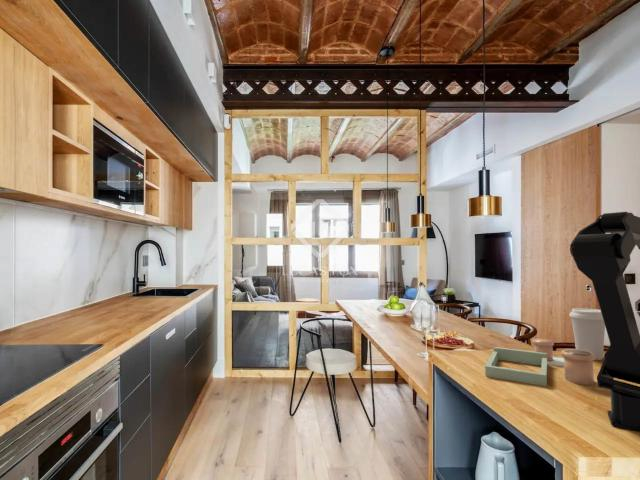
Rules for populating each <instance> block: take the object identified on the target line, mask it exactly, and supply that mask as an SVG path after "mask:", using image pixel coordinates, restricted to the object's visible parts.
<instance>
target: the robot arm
mask: <svg viewBox="0 0 640 480" xmlns="http://www.w3.org/2000/svg"><path fill="white" fill-rule="evenodd" d="M636 246H637V248H638V250H640V216H638V215H637V216H636V215H634V213H633V212H629V211H616V212H606V213H603V214H599V216H598V217H597V218H596V219H595V221H594V222H592V223H590V224H589V225H586V226H585V227H584V228H582V229H581V230H579V231H578V233H577V234H576V235H575V237H574V238H573V240H572V241H571V243H570V244H569V252H570V255H571V257H572V259H573V261H574V263H575V265H576V267H577V269H578V271H579V272H581V273H582V274H583V275H584V276H585V277H587V278H588V279H589V280H590V281H591V282H592V286H593V290H594V293H595V295H596V296H595V297H596V299H597V303H598V307H599V310H601V314H602V317H603V320H604V324H605V330H606V334H607V337H608V340H609V346H608V348H607V349H606V351H605V353H603V359H604V360H603V361H602V364H601V366H600V368H599V371H598V373H597V376H596V381H597V386H598V388H604V389H607V390H610V408H611V410H607V412H606V413H607V415H608V419H609V421H610V425H611V426H613V427H617V428H623V429H628V430H633V431H637V432H640V386H639V385H640V332H639V327H638V323H637V320H636V316H635V313H634V310H633V309H635V311H636V314H637V315H638V317H639V318H640V298H639V299H637V300H636V301H635V302H634V308H633V306H632V302H631V299H630V296H629V295H630V294H629V291H628V287H627V285H626V280H625V276H624V273H625V272H626V269H627V267H628V265H630V262H631V254H632V253H633V251H634V249H635V247H636ZM616 379H617V380H616ZM624 381H625V382H624ZM628 382H629V383H628Z"/></svg>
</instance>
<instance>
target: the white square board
mask: <svg viewBox="0 0 640 480" xmlns="http://www.w3.org/2000/svg"><path fill="white" fill-rule="evenodd" d="M547 366H553V367H561V368H565V366H564V357H563V356H557V355H553V361H547Z"/></svg>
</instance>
